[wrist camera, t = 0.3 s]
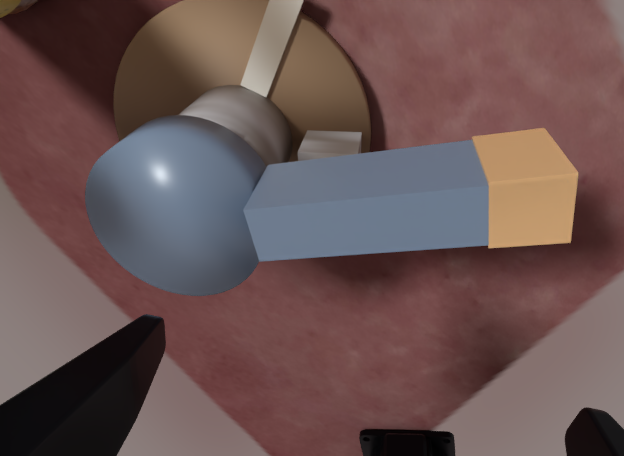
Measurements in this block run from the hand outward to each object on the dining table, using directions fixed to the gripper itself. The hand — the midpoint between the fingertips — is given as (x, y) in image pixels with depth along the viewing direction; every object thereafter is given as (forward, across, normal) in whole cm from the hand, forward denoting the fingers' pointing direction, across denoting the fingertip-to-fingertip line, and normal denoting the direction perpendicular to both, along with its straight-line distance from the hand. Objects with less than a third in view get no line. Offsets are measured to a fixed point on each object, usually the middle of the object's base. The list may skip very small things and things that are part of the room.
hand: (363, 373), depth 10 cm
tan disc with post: (+14, +6, +1) cm, 15 cm away
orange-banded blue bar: (+7, +2, -1) cm, 8 cm away
